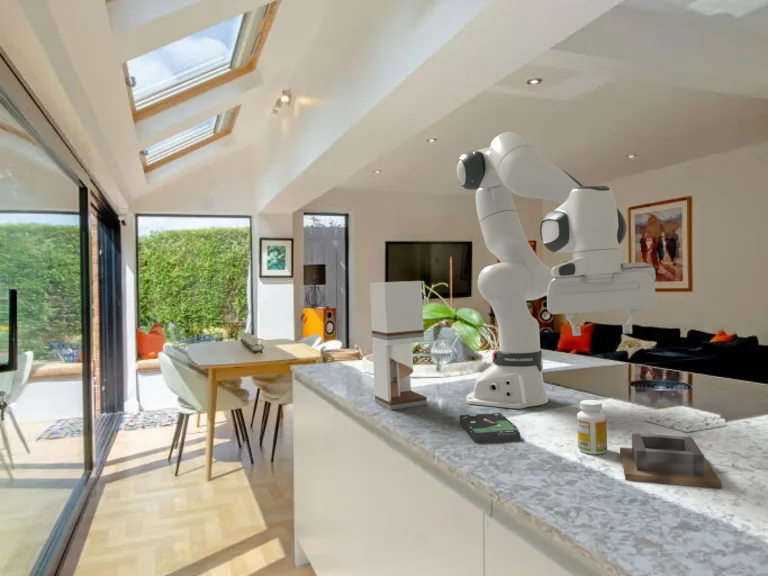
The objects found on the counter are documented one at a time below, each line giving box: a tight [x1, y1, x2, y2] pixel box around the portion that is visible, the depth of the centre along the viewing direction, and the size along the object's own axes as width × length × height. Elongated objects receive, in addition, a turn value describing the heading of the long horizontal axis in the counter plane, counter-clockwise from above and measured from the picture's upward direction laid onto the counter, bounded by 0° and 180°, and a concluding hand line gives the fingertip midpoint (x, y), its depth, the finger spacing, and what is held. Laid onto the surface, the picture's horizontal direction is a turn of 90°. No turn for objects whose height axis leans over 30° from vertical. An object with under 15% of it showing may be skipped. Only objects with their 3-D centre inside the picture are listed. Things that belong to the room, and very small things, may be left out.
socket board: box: [619, 432, 723, 489], centre depth 91 cm, size 14×14×4 cm
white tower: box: [369, 280, 428, 411], centre depth 148 cm, size 11×11×35 cm
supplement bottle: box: [576, 399, 608, 455], centre depth 102 cm, size 5×5×10 cm
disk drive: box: [459, 412, 521, 444], centre depth 118 cm, size 10×3×15 cm
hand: (601, 334), depth 103 cm, fingers open, 8 cm apart
